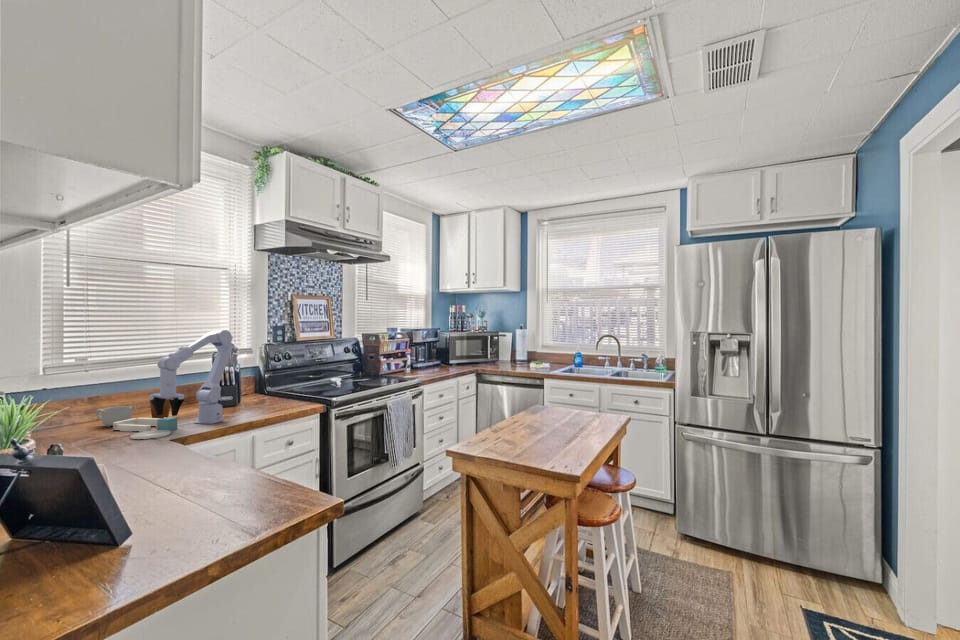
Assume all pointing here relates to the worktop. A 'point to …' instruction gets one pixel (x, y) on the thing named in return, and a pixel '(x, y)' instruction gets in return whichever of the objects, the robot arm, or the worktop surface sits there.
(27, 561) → the worktop surface
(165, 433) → the dish
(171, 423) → the cube
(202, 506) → the worktop surface
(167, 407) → the disposable coffee cup
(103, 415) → the teacup
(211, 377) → the robot arm
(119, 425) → the frame
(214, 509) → the worktop surface
